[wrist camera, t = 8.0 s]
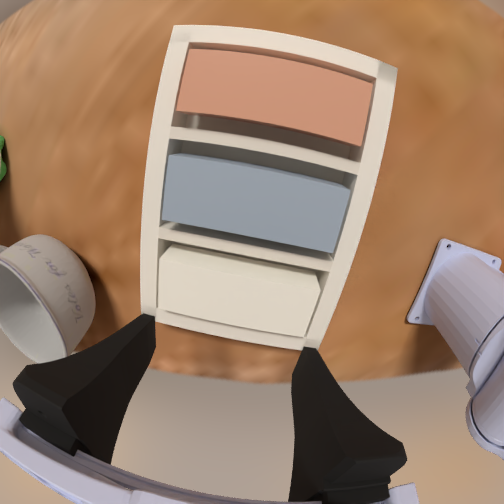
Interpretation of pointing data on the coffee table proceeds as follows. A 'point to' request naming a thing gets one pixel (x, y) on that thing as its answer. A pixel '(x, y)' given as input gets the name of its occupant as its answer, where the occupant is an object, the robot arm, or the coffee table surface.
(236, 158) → the cream drawer frame
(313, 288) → the ivory key
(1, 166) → the cup
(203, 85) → the terracotta key
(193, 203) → the slate key
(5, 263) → the teacup
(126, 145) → the coffee table surface
